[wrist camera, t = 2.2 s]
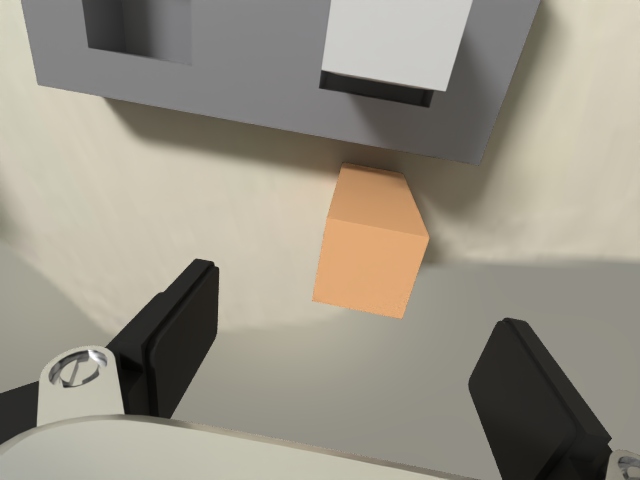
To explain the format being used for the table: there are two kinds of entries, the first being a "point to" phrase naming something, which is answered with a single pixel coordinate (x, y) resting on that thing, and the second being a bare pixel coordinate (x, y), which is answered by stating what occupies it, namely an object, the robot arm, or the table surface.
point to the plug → (370, 243)
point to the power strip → (297, 63)
